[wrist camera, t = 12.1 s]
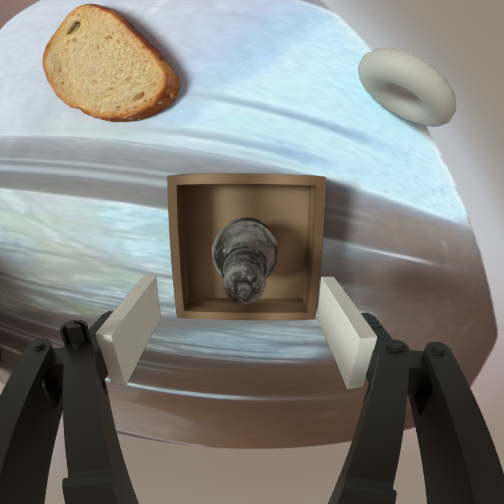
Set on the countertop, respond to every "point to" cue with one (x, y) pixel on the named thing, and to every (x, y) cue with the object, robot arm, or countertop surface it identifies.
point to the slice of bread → (107, 67)
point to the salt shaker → (245, 258)
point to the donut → (407, 86)
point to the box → (258, 207)
